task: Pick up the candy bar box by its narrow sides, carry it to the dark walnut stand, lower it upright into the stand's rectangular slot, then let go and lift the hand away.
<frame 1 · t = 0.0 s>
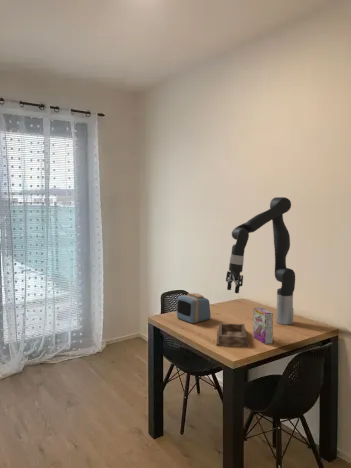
hand: (232, 291, 220), 22 cm above the table, tool pointing down, fingers open, 8 cm apart
walnut slot stand: (231, 337, 210), on the table
alarm clock: (193, 319, 244), on the table
candy bar box: (262, 340, 206), on the table
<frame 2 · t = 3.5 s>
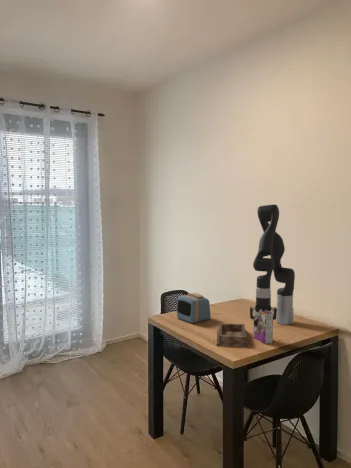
hand: (262, 326, 205), 7 cm above the table, tool pointing down, fingers closed on candy bar box, 7 cm apart
candy bar box: (262, 340, 206), on the table, touching gripper
everything else where it was.
when the fingers open (10 cm above the table, at t = 10.5 s): candy bar box drops 1 cm, resting on walnut slot stand.
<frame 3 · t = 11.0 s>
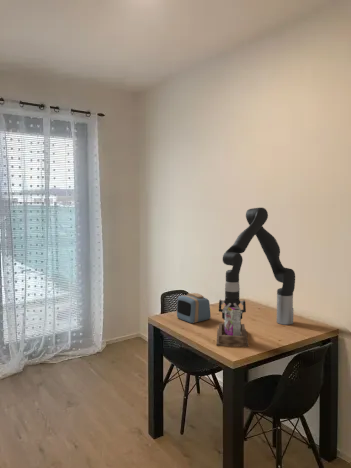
hand: (232, 319, 209), 10 cm above the table, tool pointing down, fingers open, 8 cm apart
candy bar box: (232, 336, 210), point 1 cm above the table, touching walnut slot stand
everything else where it was.
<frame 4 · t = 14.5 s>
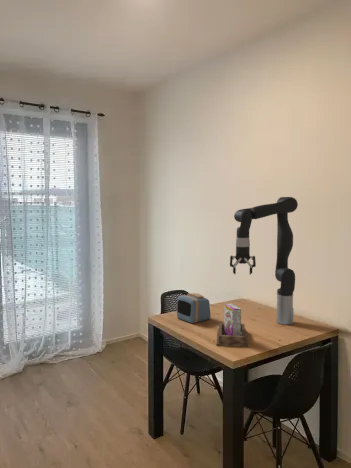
hand: (242, 274, 220), 32 cm above the table, tool pointing down, fingers open, 8 cm apart
nothing on the table moved.
at the end: candy bar box inside the target area on the walnut slot stand (0.1 cm from its centre), point 0.8 cm above the walnut slot stand's base; candy bar box tilted 0°; the gripper is holding nothing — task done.
